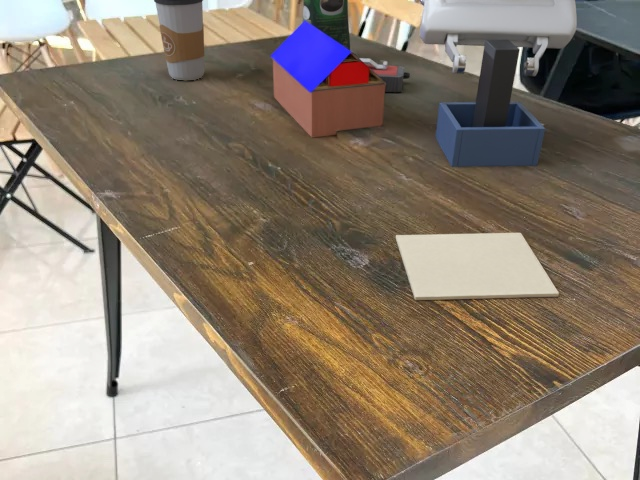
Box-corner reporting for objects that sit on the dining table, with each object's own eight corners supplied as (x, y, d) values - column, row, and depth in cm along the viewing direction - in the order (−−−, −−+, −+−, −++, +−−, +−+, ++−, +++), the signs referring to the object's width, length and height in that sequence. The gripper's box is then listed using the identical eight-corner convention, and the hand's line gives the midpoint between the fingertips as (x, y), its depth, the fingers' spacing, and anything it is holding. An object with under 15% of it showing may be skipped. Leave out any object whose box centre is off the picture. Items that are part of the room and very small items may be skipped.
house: (337, 90, 113) (339, 18, 106) (385, 129, 98) (391, 48, 91) (271, 96, 110) (269, 22, 103) (310, 138, 95) (310, 55, 88)
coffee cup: (155, 75, 119) (142, -16, 110) (193, 67, 123) (184, -21, 114) (180, 86, 114) (169, -8, 105) (219, 77, 118) (211, -14, 109)
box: (512, 139, 95) (520, 101, 92) (536, 169, 87) (545, 128, 83) (434, 140, 94) (439, 102, 91) (451, 170, 86) (456, 129, 83)
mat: (520, 235, 72) (520, 232, 72) (558, 296, 62) (559, 293, 62) (395, 238, 71) (395, 235, 71) (414, 300, 62) (415, 297, 61)
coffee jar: (340, 52, 133) (342, -51, 122) (354, 62, 127) (359, -45, 116) (295, 56, 130) (294, -49, 119) (308, 66, 124) (308, -43, 113)
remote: (491, 143, 92) (509, 39, 84) (501, 157, 88) (521, 49, 80) (468, 143, 92) (484, 39, 84) (477, 157, 88) (495, 49, 80)
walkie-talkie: (409, 79, 119) (301, 73, 121) (411, 54, 116) (301, 48, 118) (408, 94, 112) (293, 88, 114) (410, 67, 109) (293, 62, 111)
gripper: (422, -41, 85) (418, 56, 83) (581, -37, 84) (580, 62, 82) (418, -10, 91) (413, 81, 89) (565, -6, 90) (564, 87, 88)
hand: (494, 72), depth 86 cm, fingers open, 8 cm apart
